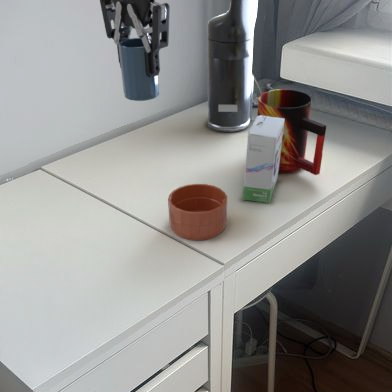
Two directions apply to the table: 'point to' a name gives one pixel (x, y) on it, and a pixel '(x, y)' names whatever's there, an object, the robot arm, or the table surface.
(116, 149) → the table surface
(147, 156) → the table surface
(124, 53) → the cup
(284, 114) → the mug
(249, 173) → the ink box
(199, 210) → the bowl
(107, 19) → the robot arm
